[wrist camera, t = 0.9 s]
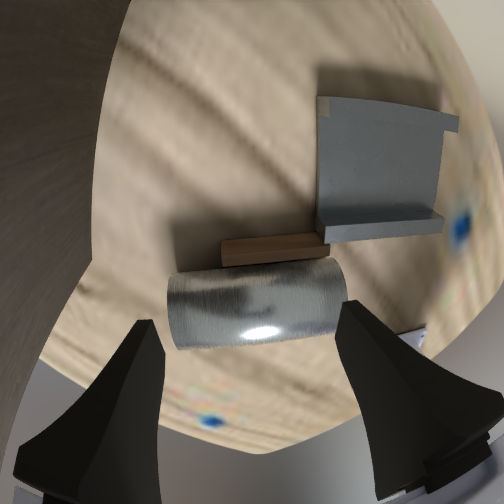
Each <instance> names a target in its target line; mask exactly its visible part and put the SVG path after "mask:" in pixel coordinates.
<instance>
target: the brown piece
mask: <svg viewBox="0 0 504 504" xmlns="http://www.w3.org/2000/svg"><path fill="white" fill-rule="evenodd" d="M329 255H330V244H329V243H327V244H324V242H323V241H322V239H321V237H320V236H319V234H318V233H317V232H311V233H299V234H288V235H277V236H266V237H255V238H244V239H234V240H223V241H221V259H222V266H223V267H227V266H237V265H247V264H258V263H268V262H277V261H287V260H297V259H307V258H316V257H326V256H329Z"/></svg>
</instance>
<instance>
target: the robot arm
mask: <svg viewBox="0 0 504 504" xmlns="http://www.w3.org/2000/svg"><path fill="white" fill-rule="evenodd" d="M426 333H427V329H426V328H423V329H419V330H416V331H412V332H408V333H405V334H401V335H396V334H395V333H394V332H393V331H391V330H390V329H389V328H388V327H387V326H386V325H384V324H383V323H382V322H381V321H380V320H379V319H378V318H377V317H376V316H374V315H373V314H372V313H371V312H370V311H369V310H368V309H367V308H366V307H364V306H363V305H362V304H361V303H360V302H359V301H358V300H352V301H345V302H342V306H341V311H340V316H339V320H338V325H337V329H336V333H335V341H336V345H337V349H338V352H339V356H340V360H341V362H342V365H343V367H344V369H345V372H346V374H347V377H348V379H349V382H350V384H351V386H352V390H353V391H354V394H355V396H356V399H357V401H358V404H359V407H360V410H361V413H362V416H363V420H364V424H365V428H366V432H367V437H368V441H369V446H370V452H371V458H372V464H373V471H374V480H375V492H376V497H377V500H378V501H380V500H383V499H385V498H388V497H390V496H393V495H395V494H397V495H399V497H398V498H395V499H393V500H390V501H388V502H385V503H383V504H496V503H497V502H498V501H499V500H500V499H501V498H502V497H503V496H504V434H503V435H502V436H500V437H499V438H498V439H496V440H495V441H494V442H492V443H491V444H490V445H488V443H487V440H489V439H490V435H489V433H488V431H489V430H490V429H491V428H492V427H494V426H495V425H496V424H497V423H498V422H499V421H500V420H501V419H502V418H504V398H503V396H502V394H501V393H500V392H497V391H495V390H491V389H488V388H485V387H482V386H480V385H476V384H475V383H472V382H470V381H468V380H465V379H463V378H461V377H459V376H457V375H455V374H453V373H451V372H449V371H448V370H446V369H444V368H442V367H441V366H439V365H437V364H436V363H434V362H432V361H431V360H429V359H428V358H426V357H425V356H424V354H423V353H422V351H421V349H420V348H419V347H420V345H421V343H422V341H423V339H424V337H425V335H426ZM164 378H165V351H164V349H163V346H162V344H161V341H160V339H159V336H158V333H157V331H156V328H155V325H154V322H153V320H152V319H148V320H137V321H136V323H135V324H134V325H133V327H132V328H131V330H130V331H129V333H128V334H127V336H126V337H125V339H124V340H123V342H122V343H121V345H120V346H119V347H118V349H117V350H116V352H115V353H114V355H113V356H112V357H111V359H110V360H109V362H108V363H107V364H106V366H105V367H104V368H103V370H102V371H101V372H100V374H99V375H98V376H97V378H96V379H95V380H94V381H93V383H92V384H91V385H90V386H89V388H88V389H87V390H86V391H85V392H84V393H83V394H82V396H81V397H80V398H79V399H78V400H77V401H76V402H75V403H74V404H73V405H72V406H71V407H70V408H69V409H68V410H67V411H66V412H65V413H64V414H63V415H62V416H61V417H59V418H58V419H57V420H56V421H55V422H53V423H52V424H51V425H50V426H49V427H47V428H46V429H45V430H43V431H42V432H41V433H39V434H38V435H37V436H35V437H34V438H32V439H31V440H29V441H27V442H26V443H25V444H23V445H21V446H19V449H18V453H17V457H16V462H15V466H14V471H13V476H14V477H15V478H16V479H18V480H20V481H22V482H23V483H25V484H27V485H29V486H31V487H33V488H35V489H37V490H39V491H41V492H43V493H44V496H43V498H42V497H40V496H38V495H35V494H33V493H31V492H29V491H27V490H25V489H23V488H21V487H19V486H15V491H14V499H13V504H162V502H161V495H160V486H159V477H158V461H157V460H158V459H157V430H158V420H159V412H160V405H161V399H162V392H163V385H164Z"/></svg>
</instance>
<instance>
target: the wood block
mask: <svg viewBox="0 0 504 504" xmlns="http://www.w3.org/2000/svg"><path fill="white" fill-rule="evenodd" d="M130 1H131V0H0V471H1V466H2V462H3V458H4V454H5V450H6V446H7V442H8V439H9V435H10V432H11V429H12V425H13V422H14V419H15V416H16V413H17V410H18V408H19V405H20V402H21V399H22V397H23V394H24V391H25V389H26V386H27V384H28V381H29V379H30V376H31V374H32V371H33V369H34V367H35V365H36V362H37V360H38V358H39V356H40V354H41V351H42V349H43V347H44V345H45V343H46V341H47V339H48V337H49V335H50V333H51V331H52V329H53V327H54V325H55V323H56V321H57V319H58V317H59V315H60V313H61V312H62V310H63V308H64V306H65V304H66V303H67V301H68V299H69V297H70V295H71V294H72V292H73V290H74V289H75V287H76V285H77V284H78V282H79V280H80V279H81V277H82V275H83V274H84V272H85V270H86V269H87V267H88V266H89V264H90V262H91V261H92V246H91V207H92V184H93V170H94V159H95V149H96V141H97V133H98V126H99V119H100V113H101V107H102V102H103V97H104V92H105V87H106V82H107V78H108V73H109V69H110V65H111V61H112V57H113V53H114V50H115V46H116V43H117V39H118V36H119V33H120V30H121V27H122V24H123V21H124V18H125V15H126V12H127V9H128V7H129V4H130Z"/></svg>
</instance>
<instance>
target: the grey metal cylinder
mask: <svg viewBox="0 0 504 504" xmlns="http://www.w3.org/2000/svg"><path fill="white" fill-rule="evenodd" d="M345 301H348V295H347V288H346V283H345V279H344V275H343V272H342V270H341V268H340V266H339V264H338V262H337V261H336V260H335V259H334V258H323V259H313V260H304V261H294V262H285V263H275V264H265V265H255V266H245V267H234V268H224V269H213V270H202V271H192V272H180V273H172V274H171V276H170V278H169V283H168V290H167V309H168V319H169V325H170V330H171V334H172V338H173V341H174V343H175V345H176V347H177V349H178V350H180V351H181V350H200V349H215V348H227V347H239V346H249V345H258V344H267V343H275V342H283V341H290V340H297V339H304V338H311V337H317V336H323V335H329V334H335V333H336V329H337V325H338V320H339V316H340V311H341V306H342V302H345Z"/></svg>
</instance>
